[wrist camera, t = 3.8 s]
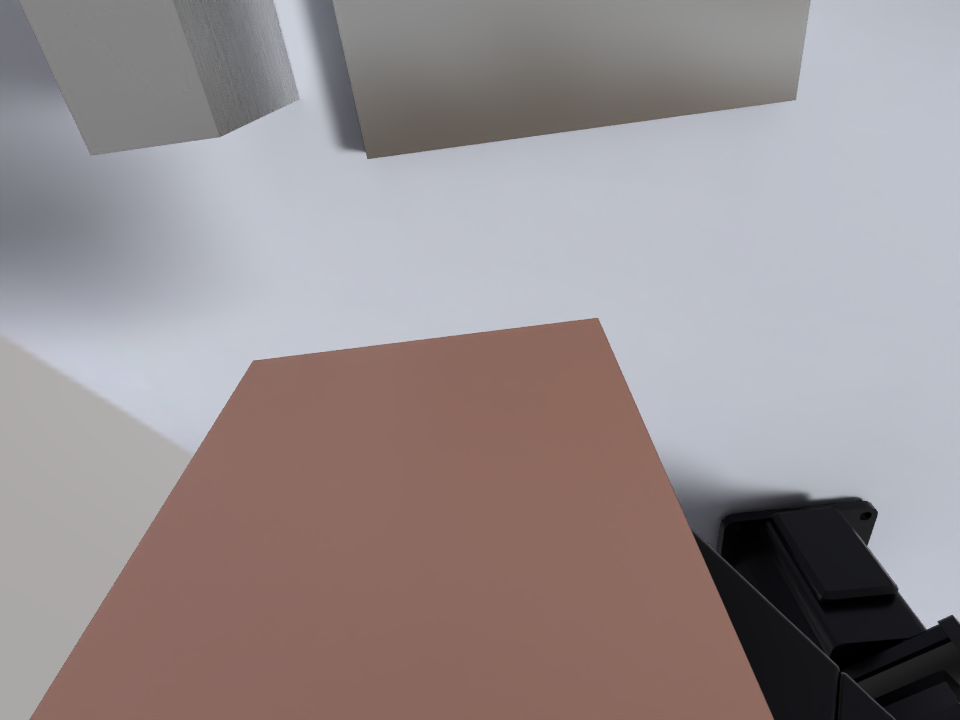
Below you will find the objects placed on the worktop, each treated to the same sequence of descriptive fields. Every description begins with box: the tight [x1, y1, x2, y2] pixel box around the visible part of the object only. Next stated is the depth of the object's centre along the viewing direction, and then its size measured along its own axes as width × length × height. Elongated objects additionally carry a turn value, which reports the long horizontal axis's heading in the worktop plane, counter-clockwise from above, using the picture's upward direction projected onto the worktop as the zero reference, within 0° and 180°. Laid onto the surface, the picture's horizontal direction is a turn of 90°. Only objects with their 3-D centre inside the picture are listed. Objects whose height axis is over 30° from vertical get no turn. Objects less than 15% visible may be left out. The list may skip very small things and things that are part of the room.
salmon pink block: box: [30, 318, 774, 720], centre depth 7 cm, size 5×5×7 cm
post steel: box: [19, 0, 299, 155], centre depth 13 cm, size 3×3×6 cm
